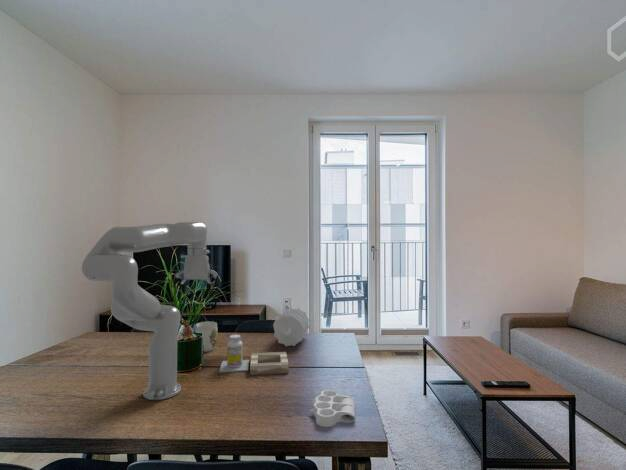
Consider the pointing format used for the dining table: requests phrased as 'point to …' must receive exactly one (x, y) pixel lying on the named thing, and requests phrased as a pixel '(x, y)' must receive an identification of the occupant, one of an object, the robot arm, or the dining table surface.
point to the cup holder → (263, 367)
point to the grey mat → (226, 368)
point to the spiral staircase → (291, 327)
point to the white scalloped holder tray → (333, 408)
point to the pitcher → (208, 334)
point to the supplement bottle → (234, 351)
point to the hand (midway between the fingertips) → (196, 293)
